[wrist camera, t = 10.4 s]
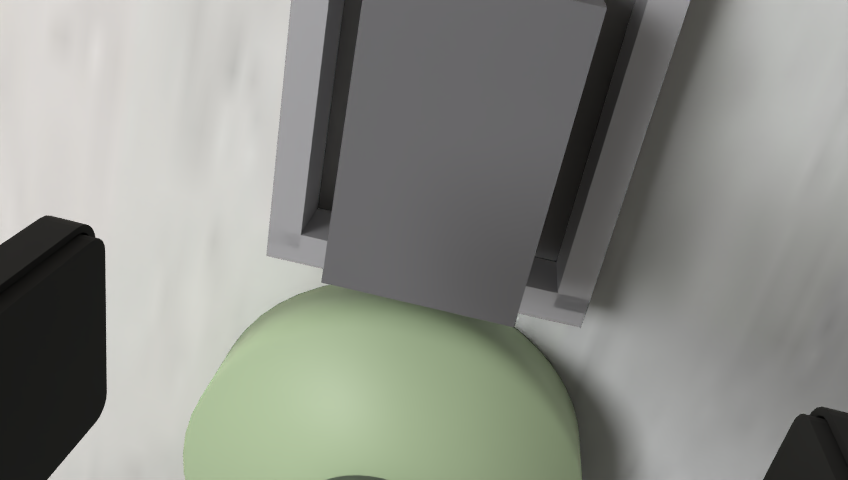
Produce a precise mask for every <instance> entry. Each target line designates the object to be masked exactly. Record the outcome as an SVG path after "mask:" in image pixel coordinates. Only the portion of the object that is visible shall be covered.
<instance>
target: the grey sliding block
mask: <svg viewBox="0 0 848 480" xmlns="http://www.w3.org/2000/svg"><path fill="white" fill-rule="evenodd" d="M606 10H607V7H606V4H605V2H604V0H362V6H361V13H360V19H359V26H358V33H357V40H356V47H355V54H354V61H353V68H352V75H351V82H350V88H349V95H348V102H347V109H346V116H345V123H344V130H343V137H342V144H341V151H340V158H339V164H338V171H337V178H336V185H335V192H334V199H333V206H332V213H331V220H330V227H329V234H328V240H327V247H326V254H325V261H324V268H323V275H322V282H321V283H326V284H330V285H334V286H339V287H343V288H347V289H351V290H356V291H360V292H364V293H369V294H373V295H377V296H381V297H386V298H390V299H394V300H399V301H403V302H407V303H411V304H416V305H420V306H424V307H429V308H433V309H437V310H441V311H446V312H450V313H454V314H459V315H463V316H467V317H471V318H476V319H480V320H484V321H489V322H493V323H497V324H501V325H506V326H510V327H514V325H515V322H516V318H517V315H518V312H519V308H520V305H521V301H522V298H523V294H524V291H525V288H526V284H527V281H528V277H529V274H530V270H531V267H532V264H533V260H534V257H535V253H536V250H537V246H538V243H539V240H540V236H541V233H542V229H543V226H544V222H545V219H546V216H547V212H548V209H549V205H550V202H551V198H552V195H553V192H554V188H555V185H556V181H557V178H558V174H559V171H560V168H561V164H562V161H563V157H564V154H565V150H566V147H567V144H568V140H569V137H570V133H571V130H572V126H573V123H574V120H575V116H576V113H577V109H578V106H579V102H580V99H581V96H582V92H583V89H584V85H585V82H586V78H587V75H588V72H589V68H590V65H591V61H592V58H593V54H594V51H595V48H596V44H597V41H598V37H599V34H600V30H601V27H602V24H603V20H604V17H605V13H606Z"/></svg>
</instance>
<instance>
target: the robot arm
mask: <svg viewBox="0 0 848 480" xmlns="http://www.w3.org/2000/svg"><path fill="white" fill-rule="evenodd" d="M106 394H107V380H106V289H105V246H104V243H103V241H102V240H100V239H98V238H95V233H94V231H93V229H92V228H91V227H90V226H89V225H86V224H82V223H78V222H74V221H70V220H66V219H62V218H57V217H53V216H44V217H42V218H40V219H38V220H37V221H35V222H34V223H32V224H31V225H29V226H28V227H26V228H25V229H23V230H22V231H20V232H19V233H17V234H16V235H14V236H13V237H11V238H10V239H8V240H7V241H5V242H4V243H2V244H1V245H0V480H47V479H48V478H49V477H50V476H51V474H52V473H53V472H54V471H55V470H56V468H57V467H58V466H59V465H60V464H61V463H62V461H63V460H64V459H65V458H66V457H67V455H68V454H69V453H70V452H71V451H72V450H73V448H74V447H75V446H76V445H77V444H78V442H79V441H80V440H81V439H82V438H83V437H84V435H85V434H86V433H87V432H88V431H89V429H90V428H91V427H92V426H93V425H94V424H95V422H96V421H97V420H98V418H99V417H100V415H101V413H102V411H103V408H104V405H105V401H106ZM763 480H848V413H845V412H841V411H837V410H833V409H829V408H825V407H819V408H816V409H815V410H814V411H812V412H811V414H810V415H806V414H800V415H799V416H798V417H796V419H795V420H794V422H793V423H792V425H791V427H790V429H789V431H788V433H787V435H786V437H785V439H784V441H783V442H782V444H781V446H780V448H779V450H778V452H777V454H776V456H775V458H774V460H773V462H772V464H771V466H770V467H769V469H768V471H767V473H766V475H765V477H764V479H763Z"/></svg>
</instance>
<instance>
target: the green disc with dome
mask: <svg viewBox="0 0 848 480" xmlns="http://www.w3.org/2000/svg"><path fill="white" fill-rule="evenodd" d="M689 3H690V0H635V3H634V6H633V10H632V13H631V16H630V20H629V23H628V26H627V30H626V33H625V36H624V40H623V43H622V46H621V49H620V53H619V56H618V59H617V63H616V66H615V69H614V73H613V76H612V79H611V83H610V86H609V89H608V93H607V96H606V99H605V103H604V106H603V109H602V113H601V116H600V119H599V122H598V126H597V129H596V132H595V136H594V139H593V142H592V146H591V149H590V152H589V156H588V159H587V162H586V166H585V169H584V172H583V176H582V179H581V182H580V186H579V189H578V192H577V195H576V199H575V202H574V205H573V209H572V212H571V215H570V219H569V222H568V225H567V229H566V232H565V235H564V239H563V242H562V245H561V249H560V252H559V255H558V259H557V262H554V261H550V260H545V259H541V258H536V257H534V260H533V264H532V267H531V270H530V274H529V277H528V281H527V284H526V288H525V291H524V294H523V298H522V301H521V305H520V308H519V312H518V313H519V314H523V315H528V316H532V317H537V318H541V319H545V320H550V321H554V322H559V323H563V324H567V325H572V326H576V327H580V328H581V326H582V323H583V320H584V317H585V314H586V311H587V308H588V305H589V302H590V299H591V296H592V293H593V290H594V287H595V284H596V281H597V278H598V275H599V272H600V269H601V267H602V264H603V261H604V258H605V255H606V252H607V249H608V246H609V243H610V240H611V237H612V234H613V231H614V228H615V225H616V222H617V219H618V216H619V213H620V210H621V207H622V204H623V201H624V198H625V195H626V192H627V189H628V186H629V183H630V180H631V177H632V174H633V171H634V168H635V165H636V162H637V159H638V156H639V153H640V150H641V147H642V144H643V141H644V138H645V135H646V132H647V129H648V126H649V123H650V120H651V117H652V114H653V111H654V108H655V105H656V102H657V99H658V96H659V93H660V90H661V87H662V84H663V81H664V78H665V75H666V72H667V69H668V66H669V63H670V60H671V57H672V54H673V51H674V48H675V45H676V42H677V39H678V36H679V33H680V30H681V27H682V24H683V21H684V18H685V15H686V12H687V9H688V6H689ZM343 7H344V0H291V8H290V19H289V29H288V39H287V50H286V60H285V70H284V81H283V91H282V101H281V111H280V122H279V132H278V142H277V153H276V163H275V173H274V183H273V194H272V204H271V214H270V225H269V235H268V245H267V256H270V257H274V258H278V259H283V260H287V261H291V262H296V263H300V264H305V265H309V266H313V267H318V268H322V269H323V268H324V261H325V254H326V247H327V240H328V234H329V227H330V220H331V213H332V211H328V210H324V209H319V208H318V201H319V194H320V186H321V178H322V170H323V162H324V155H325V147H326V139H327V131H328V124H329V116H330V108H331V100H332V92H333V85H334V77H335V69H336V61H337V54H338V46H339V38H340V30H341V23H342V15H343ZM183 462H184V475H185V480H582V472H581V456H580V441H579V428H578V423H577V419H576V415H575V411H574V407H573V404H572V402H571V399H570V397H569V395H568V392H567V390H566V388H565V386H564V384H563V382H562V381H561V379H560V377H559V376H558V374H557V373H556V371H555V369H554V368H553V366H552V365H551V364H550V363H549V362H548V360H547V359H546V358H545V357H544V355H543V354H542V353H541V352H540V351H539V349H538V348H537V347H536V346H534V345H533V344H532V343H531V342H530V341H529V340H528V339H527V338H526V337H525V336H524V335H523V334H522V333H521V332H519V331H518V330H517V329H515V328H514V327H510V326H506V325H501V324H497V323H493V322H489V321H484V320H480V319H476V318H471V317H467V316H463V315H459V314H454V313H450V312H446V311H441V310H437V309H433V308H429V307H424V306H420V305H416V304H411V303H407V302H403V301H399V300H394V299H390V298H386V297H381V296H377V295H373V294H369V293H364V292H360V291H356V290H351V289H347V288H343V287H339V286H334V285H328V286H322V287H319V288H316V289H313V290H310V291H307V292H304V293H301V294H298V295H296V296H294V297H292V298H290V299H288V300H286V301H283V302H281V303H279V304H278V305H276V306H275V307H273V308H272V309H270V310H269V311H267V312H266V313H264V314H263V315H261V316H260V317H259V318H258V319H257V320H256V321H255V322H254V323H252V324H251V325H250V326H249V327H248V328H247V329H246V330H245V331H244V332H243V334H242V335H241V336H240V338H239V339H238V340H237V341H236V343H235V344H234V345H233V347H232V348H231V350H230V351H229V353H228V355H227V356H226V358H225V359H224V361H223V363H222V364H221V366H220V368H219V369H218V371H217V372H216V374H215V376H214V377H213V379H212V380H211V382H210V384H209V385H208V387H207V388H206V390H205V392H204V393H203V395H202V396H201V398H200V400H199V402H198V404H197V406H196V408H195V409H194V411H193V413H192V415H191V418H190V421H189V425H188V428H187V431H186V435H185V442H184V450H183Z"/></svg>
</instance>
